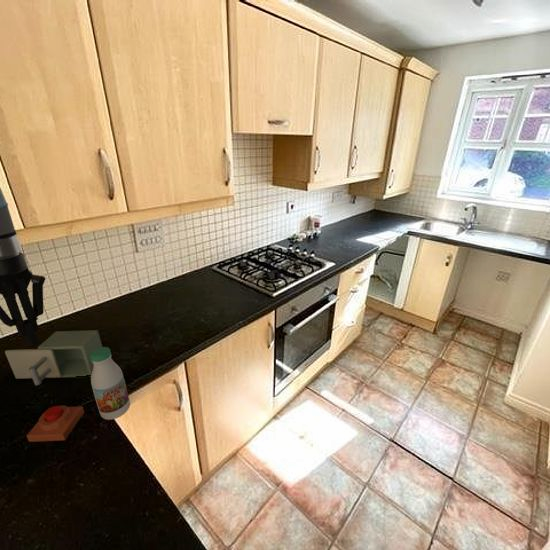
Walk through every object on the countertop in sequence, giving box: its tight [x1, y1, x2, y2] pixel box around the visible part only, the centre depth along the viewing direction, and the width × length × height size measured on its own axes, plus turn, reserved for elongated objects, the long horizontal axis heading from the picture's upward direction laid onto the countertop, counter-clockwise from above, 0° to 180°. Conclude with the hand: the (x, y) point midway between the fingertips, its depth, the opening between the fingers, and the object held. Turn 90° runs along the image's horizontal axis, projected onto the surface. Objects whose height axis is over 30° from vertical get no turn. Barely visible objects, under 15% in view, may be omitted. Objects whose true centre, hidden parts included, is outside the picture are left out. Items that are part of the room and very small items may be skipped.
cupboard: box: [37, 329, 103, 379], centre depth 100 cm, size 14×9×12 cm, turn 92°
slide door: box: [4, 348, 62, 386], centre depth 92 cm, size 14×7×10 cm, turn 92°
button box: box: [26, 405, 85, 443], centre depth 80 cm, size 9×9×4 cm
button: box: [43, 405, 62, 422], centre depth 79 cm, size 4×4×2 cm
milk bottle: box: [90, 346, 131, 421], centre depth 82 cm, size 8×8×20 cm
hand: (33, 344), depth 76 cm, fingers closed
